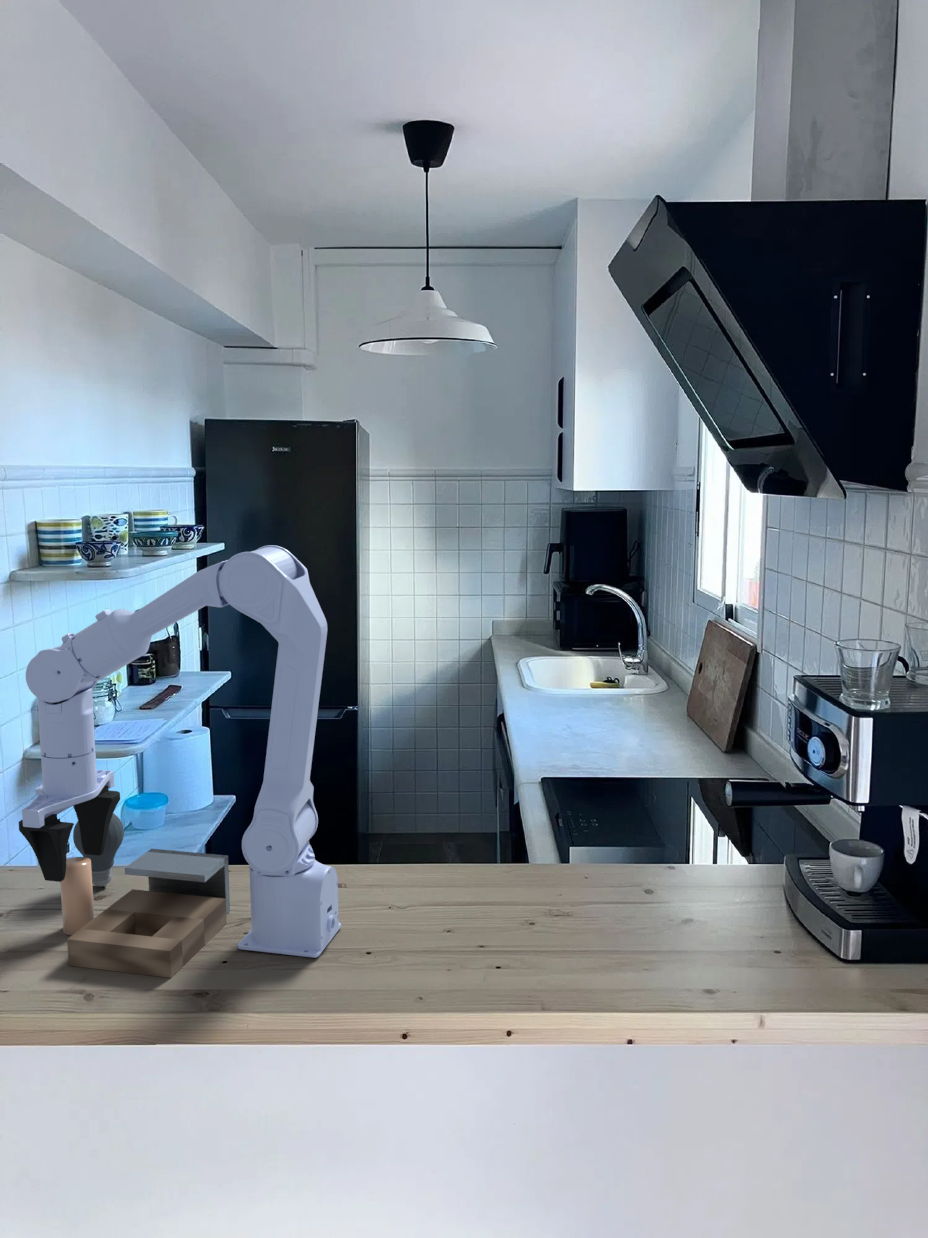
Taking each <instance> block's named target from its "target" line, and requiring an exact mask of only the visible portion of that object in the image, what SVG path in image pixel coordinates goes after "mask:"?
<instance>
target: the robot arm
mask: <svg viewBox="0 0 928 1238" xmlns="http://www.w3.org/2000/svg"><path fill="white" fill-rule="evenodd" d="M228 605H230V607H232V608H233V609H235V610H237V611H238V612H240V613H242V615H243V614H244V615H245V616H248V618H251V619H253V620H255V621H256V622H257V623H260V624H261V625H262V626H263V627H264V629H265V630H266V631H268V633H270V635H271V636H272V637H273V638H274V639H275V640H276V641H277V642H278V647H277V656H276V665H275V666H276V667H275V673H274V683H273V684H274V685H273V693H272V701H271V709H270V717H269V718H270V719H269V720H270V721H269V727H268V736H267V745H266V756H265V762H264V773H263V781H262V784H261V788H260V789H259V790H260V791H259V793H258V796H257V799H256V801H255V806H254V811H253V817H252V820H251V823H250V824H249V826H248V827H247V829H246V830H245V831H244V834H243V835H242V839H241V850H242V854H243V857H244V859H245V861H246V863H248V865H249V866H248V867H249V893H250V894H249V895H250V898H249V899H250V901H249V902H250V924H251V925H250V927H251V928H250V930H249V932H248V933H246V935H244V937H243V938H242V939H241V940H240V941H239V942H238V943H237V949H238V950H244V951H253V952H262V953H270V954H271V953H272V954H277V955H278V954H279V955H280V954H281V955H289V956H295V957H296V956H297V957H305V958H315V959H316V958H318V957H320V956H321V954H322V952H323V951H324V950H325V948H326V947H327V946H328V944H329V943H331V941H332V939H334V937H335V935H336V934H337V932H338V931H339V930H340V929H341V927H342V923H341V922H340V920H339V919H340V916H339V914H340V913H339V877H338V873H337V869H336V868H335V867H333V866H330V865H327V864H323V863H321V862H319V861H318V860H316V858H315V857H316V856H315V853H314V850H313V848H312V845H311V844H310V839H312V837H313V836H314V835H315V833H316V832H317V828H318V824H319V817H318V812H317V810H316V807H315V803H314V791H315V790H314V789H315V787H314V785H313V783H312V782H311V772H312V771H311V770H312V764H313V763H312V762H313V754H314V748H315V747H314V746H315V736H316V730H317V729H316V728H317V722H318V713H319V702H320V695H321V687H322V679H323V671H324V662H325V653H326V648H327V647H326V645H327V637H328V622H327V619H326V617H325V614H324V612H323V610H322V608H321V605H320V603H319V601H318V598H317V597H316V594H315V591H314V589H313V587H312V584H311V582H310V576H309V572H308V568H307V567H306V566H305V565H304V564H303V563H302V562H301V561H300V560H298V558H297V557H296V556H295V555H294V554H293V553H291V551H289V550H288V549H286V548H285V547H282V546H279V545H273V544H271V545H270V544H269V545H268V544H267V545H263V546H261V547H258V548H257V549H255V550H251V551H243V552H239V553H236V554H234V555H233V556H231V557H230V558H229V559H226V560H223V561H220V562H217V563H215V564H212V565H210V566H206V567H204V568H203V569H200V570H199V571H196V572H195V573H193V574H192V575H190V576H189V577H187V578H186V579H184V580H183V581H181V582H179V583H178V584H176V585H174V587H172V588H170V589H169V590H167V591H166V592H163V594H161V595H160V596H158V597H156V598H154V600H152V601H150V602H149V603H147V604H145V605H144V606H143V607H141V608H139V609H138V610H137V611H131V610H127V609H125V608H117V609H115V610H113V611H112V610H111V609H110V608H108V609H104V610H102V611H100V612H98V613H96V615H95V619H96V621H95V622H94V623H92V624H90V625H89V626H87V627H85V628H84V629H82V630H80V631H78V632H76V633H73V632H69V633H67V634H65V635H63V636H62V637H61V641H62V643H61V645H57V646H55V647H53V648H46V649H41V650H39V652H37V654H36V655H35V656H34V657H32V658H31V660H29V662H28V664H27V666H26V670H25V680H26V685H27V687H28V689H29V691H30V693H32V694H33V696H35V697H36V698H37V712H38V714H37V715H38V731H39V746H40V747H39V748H40V758H41V759H40V763H41V779H42V781H41V782H42V784H41V785H40V786H38V787H36V788H35V789H34V792H35V793H34V794H35V795H36V797H35V798H34V799H33V801H31V802H30V804H29V805H28V806H26V807H23V809H21V817H22V818H21V819H20V820H19V821H18V831H19V832H20V833H21V834H22V836H23V837H24V838H25V840H26V841H27V842H28V844H29V846H30V847H31V849H32V850H33V852H34V854H35V857H36V860H37V861H38V865H39V866H40V867H39V868H40V870H41V872H42V873H41V874H42V876H43V879H44V880H45V881H49V882H57V883H58V882H59V883H60V882H61V881H63V880H64V878H65V874H66V859H67V851H68V850H67V849H68V844H69V840H70V836H71V833H72V830H73V829H74V828H73V827H74V826H75V823H74V822H68V821H61V818H58V815H59V814H61V813H63V812H65V811H66V810H68V809H70V808H72V807H73V809H74V812H75V815H76V818H77V822H79V827H80V834H81V841H82V847H83V850H84V853H85V854H89V855H99V856H100V855H102V854H103V851H104V847H105V842H106V837H107V833H108V828H109V824H110V821H111V818H112V815H113V813H114V812H115V810H116V808H117V806H118V804H119V803H120V800H121V792H120V791H118V790H110V789H111V788H113V787H115V772H114V770H107V769H97V756H96V739H95V737H96V736H95V724H94V723H95V722H94V721H95V720H94V719H95V717H94V703H93V701H94V699H93V698H94V697H93V690H94V688H95V686H96V685H97V683H98V682H99V681H102V680H104V679H106V678H107V677H109V676H110V675H112V674H113V673H116V672H117V671H118V670H120V669H122V668H124V667H125V666H127V665H129V664H131V663H132V662H134V661H135V660H138V659H139V658H141V657H142V656H144V655H146V654H147V652H149V649H150V644H151V641H152V637H153V636H154V635H155V634H158V633H159V632H161V631H163V630H165V629H166V628H168V627H170V626H172V625H174V624H175V623H177V622H180V621H181V620H183V619H184V618H186V617H188V616H190V615H192V614H194V613H196V612H197V611H199V610H201V609H202V608H204V607H215V608H224V607H226V606H228ZM114 814H115V813H114Z"/></svg>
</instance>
